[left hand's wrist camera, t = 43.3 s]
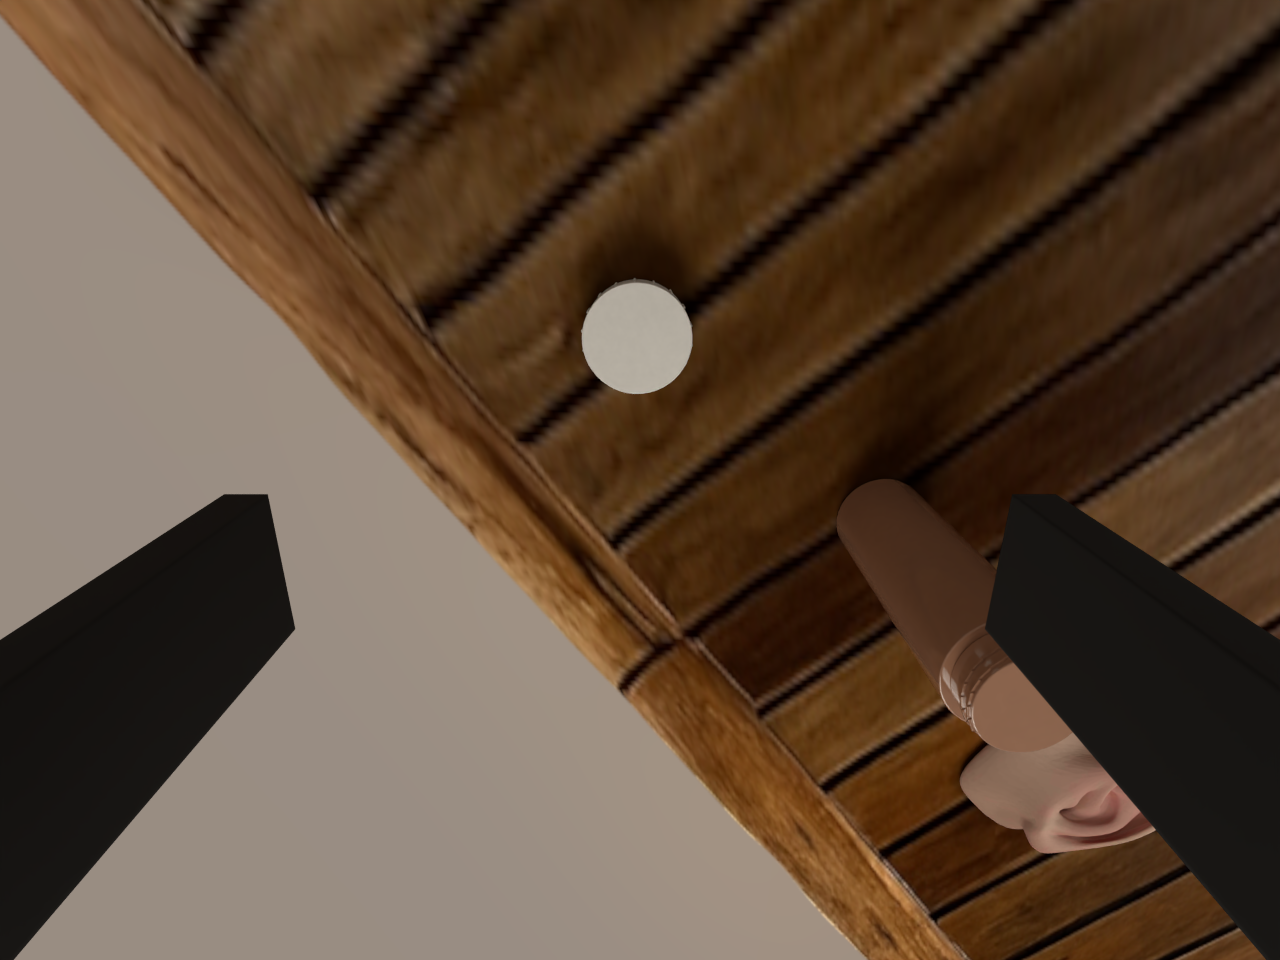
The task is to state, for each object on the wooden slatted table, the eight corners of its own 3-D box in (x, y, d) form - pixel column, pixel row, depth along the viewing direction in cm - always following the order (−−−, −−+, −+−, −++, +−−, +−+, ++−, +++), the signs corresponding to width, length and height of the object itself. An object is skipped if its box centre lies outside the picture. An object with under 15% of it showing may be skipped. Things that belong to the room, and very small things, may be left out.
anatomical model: (961, 849, 48) (1052, 724, 44) (938, 804, 51) (1020, 685, 48) (1123, 898, 49) (1224, 781, 46) (1089, 850, 53) (1179, 739, 49)
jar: (907, 464, 42) (1086, 624, 25) (935, 537, 44) (1118, 732, 27) (823, 500, 43) (941, 678, 26) (853, 571, 45) (982, 780, 28)
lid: (634, 407, 41) (634, 416, 39) (561, 329, 39) (557, 335, 37) (712, 337, 39) (716, 343, 37) (640, 254, 38) (639, 255, 36)
